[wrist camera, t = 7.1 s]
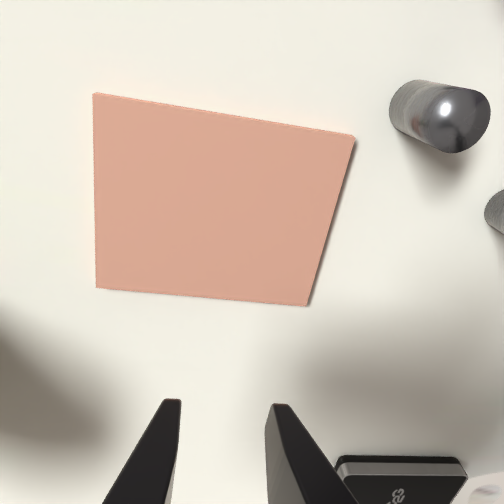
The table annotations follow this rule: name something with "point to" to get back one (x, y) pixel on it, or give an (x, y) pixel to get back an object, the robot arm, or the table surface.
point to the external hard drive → (401, 479)
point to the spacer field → (446, 124)
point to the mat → (211, 201)
